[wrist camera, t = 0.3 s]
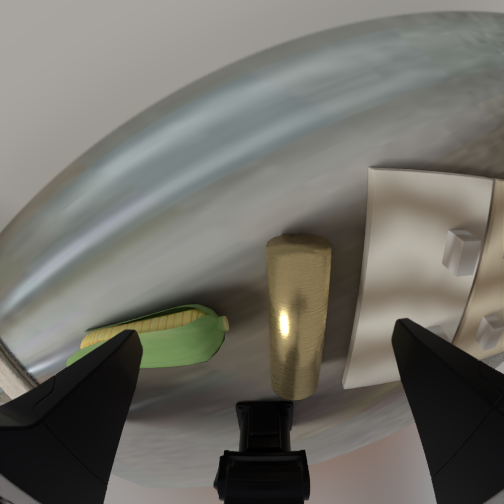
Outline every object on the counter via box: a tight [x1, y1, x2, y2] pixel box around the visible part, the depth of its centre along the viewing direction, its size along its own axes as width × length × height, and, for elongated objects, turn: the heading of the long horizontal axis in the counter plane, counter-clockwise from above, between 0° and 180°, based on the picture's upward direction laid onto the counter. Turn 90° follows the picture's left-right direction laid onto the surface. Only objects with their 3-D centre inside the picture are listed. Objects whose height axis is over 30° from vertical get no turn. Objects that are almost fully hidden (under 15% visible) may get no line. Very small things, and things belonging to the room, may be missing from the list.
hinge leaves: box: [342, 167, 504, 389], centre depth 21 cm, size 22×25×4 cm
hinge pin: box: [266, 234, 332, 400], centre depth 23 cm, size 14×4×4 cm, turn 4°
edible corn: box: [66, 304, 229, 368], centre depth 24 cm, size 5×20×5 cm
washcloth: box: [0, 343, 37, 400], centre depth 33 cm, size 12×18×3 cm, turn 29°
